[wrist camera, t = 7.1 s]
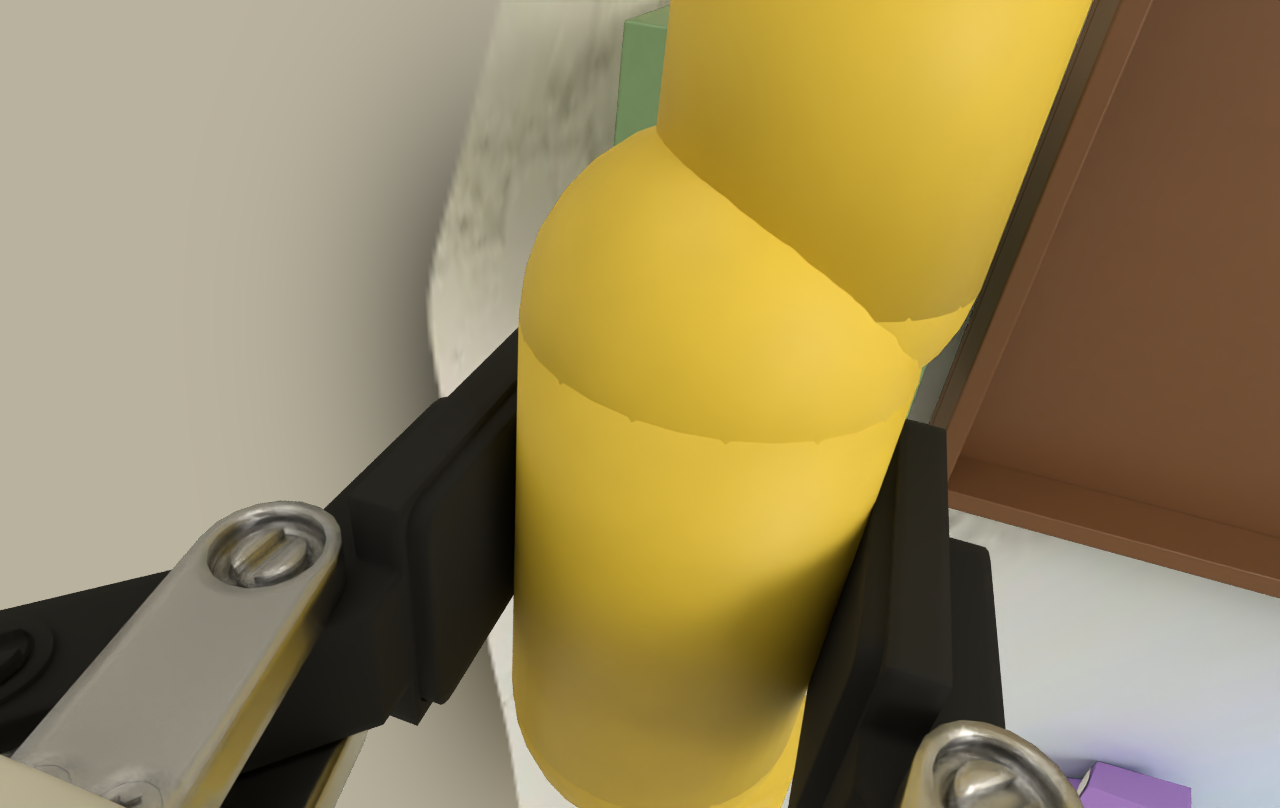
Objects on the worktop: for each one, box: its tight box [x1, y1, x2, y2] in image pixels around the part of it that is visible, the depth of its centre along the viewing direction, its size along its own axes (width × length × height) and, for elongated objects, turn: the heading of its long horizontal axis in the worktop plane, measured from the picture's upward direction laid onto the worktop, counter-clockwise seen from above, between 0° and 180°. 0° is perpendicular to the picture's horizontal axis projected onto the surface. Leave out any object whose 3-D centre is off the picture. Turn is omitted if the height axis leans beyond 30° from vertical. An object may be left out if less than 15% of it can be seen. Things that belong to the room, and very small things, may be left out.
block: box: [614, 5, 927, 419], centre depth 19 cm, size 8×8×5 cm
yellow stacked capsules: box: [512, 0, 1093, 808], centre depth 9 cm, size 17×4×4 cm, turn 174°
